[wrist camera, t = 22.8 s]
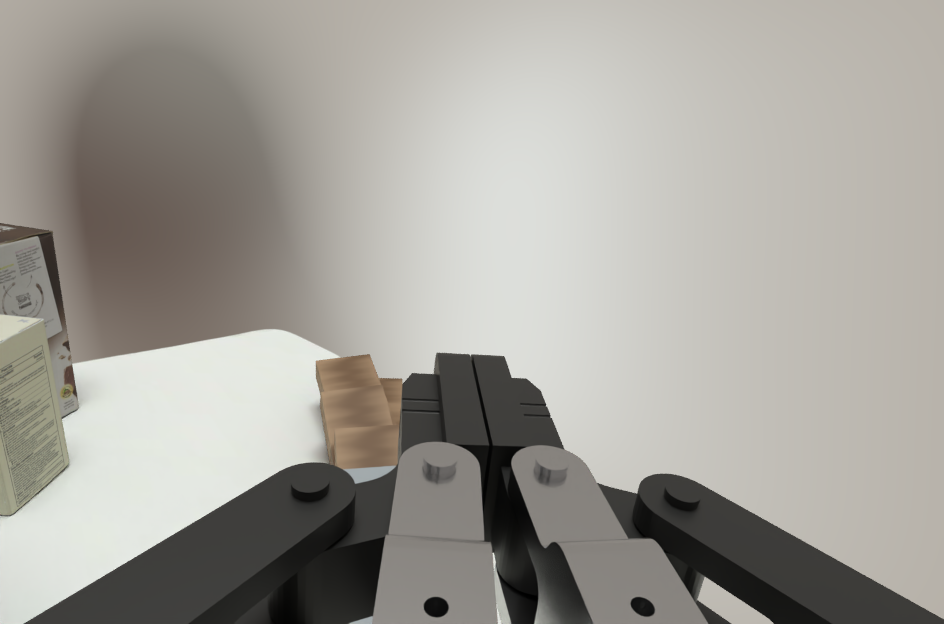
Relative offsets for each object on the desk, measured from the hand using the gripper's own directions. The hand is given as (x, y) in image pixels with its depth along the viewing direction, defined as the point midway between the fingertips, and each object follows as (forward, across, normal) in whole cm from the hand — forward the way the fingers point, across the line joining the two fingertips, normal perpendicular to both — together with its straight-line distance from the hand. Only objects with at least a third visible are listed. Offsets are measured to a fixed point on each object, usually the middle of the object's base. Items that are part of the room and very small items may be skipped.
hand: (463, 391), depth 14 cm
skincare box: (+27, +28, +25) cm, 46 cm away
